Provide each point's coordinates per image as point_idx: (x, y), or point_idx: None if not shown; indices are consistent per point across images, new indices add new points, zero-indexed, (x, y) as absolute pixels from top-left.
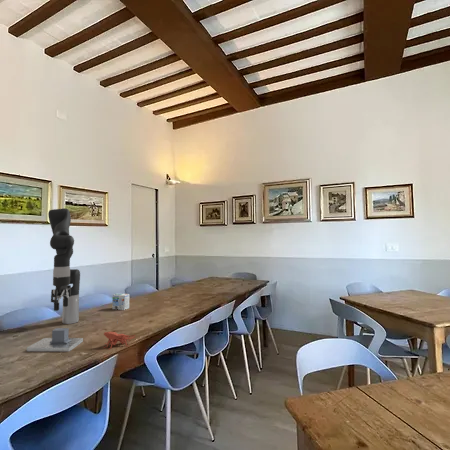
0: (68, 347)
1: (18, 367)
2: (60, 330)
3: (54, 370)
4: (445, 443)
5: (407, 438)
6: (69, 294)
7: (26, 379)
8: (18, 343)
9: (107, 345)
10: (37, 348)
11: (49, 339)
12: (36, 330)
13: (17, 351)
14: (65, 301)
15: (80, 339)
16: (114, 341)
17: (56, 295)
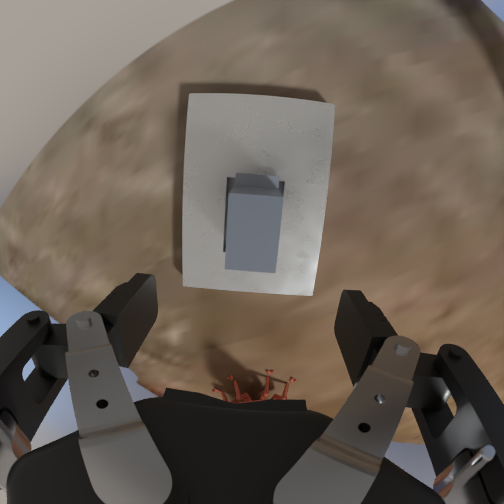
0: (184, 282)
1: (55, 177)
2: (227, 245)
3: (55, 293)
4: None
5: None
6: (420, 421)
7: (14, 249)
8: (306, 14)
9: (235, 386)
10: (186, 143)
11: (308, 140)
12: (463, 41)
13: (197, 60)
14: (352, 346)
15: (292, 293)
16: None
17: (16, 421)
